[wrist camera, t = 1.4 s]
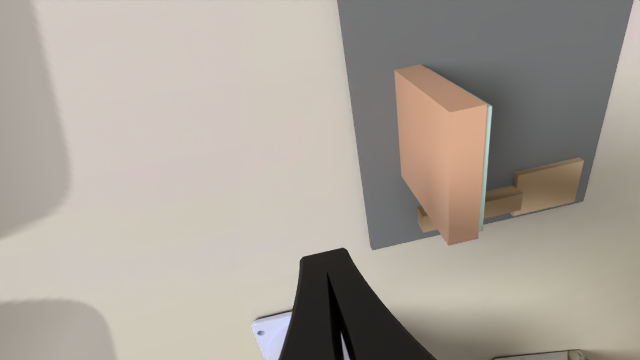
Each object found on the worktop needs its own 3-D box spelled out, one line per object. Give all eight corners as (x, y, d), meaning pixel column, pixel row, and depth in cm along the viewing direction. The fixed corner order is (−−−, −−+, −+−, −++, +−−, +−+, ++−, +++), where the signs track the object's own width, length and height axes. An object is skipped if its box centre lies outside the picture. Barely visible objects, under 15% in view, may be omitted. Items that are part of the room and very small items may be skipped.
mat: (578, 198, 24) (583, 201, 23) (370, 246, 23) (372, 250, 23) (651, -108, 15) (660, -110, 15) (331, -42, 15) (333, -42, 15)
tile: (428, 169, 20) (484, 237, 15) (401, 175, 20) (448, 245, 15) (426, 63, 17) (495, 102, 12) (394, 70, 17) (450, 112, 12)
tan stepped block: (569, 198, 23) (581, 207, 22) (417, 233, 23) (423, 244, 22) (578, 157, 22) (592, 165, 21) (416, 194, 21) (422, 204, 20)
